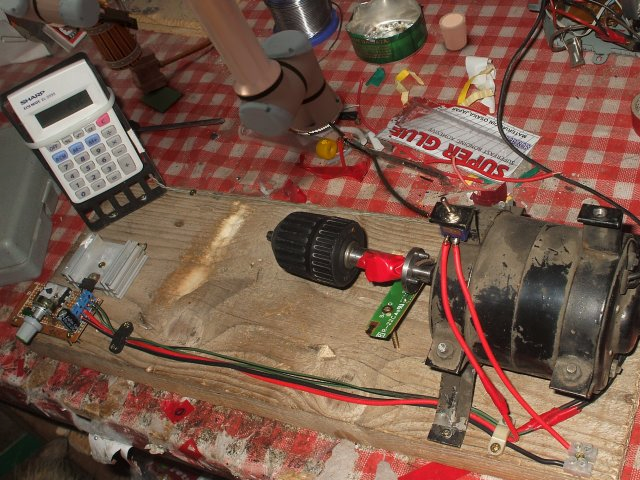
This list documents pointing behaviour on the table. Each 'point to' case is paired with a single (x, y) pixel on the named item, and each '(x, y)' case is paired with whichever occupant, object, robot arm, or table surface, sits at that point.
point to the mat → (161, 98)
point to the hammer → (156, 68)
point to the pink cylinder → (454, 30)
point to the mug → (115, 42)
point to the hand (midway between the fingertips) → (120, 27)
